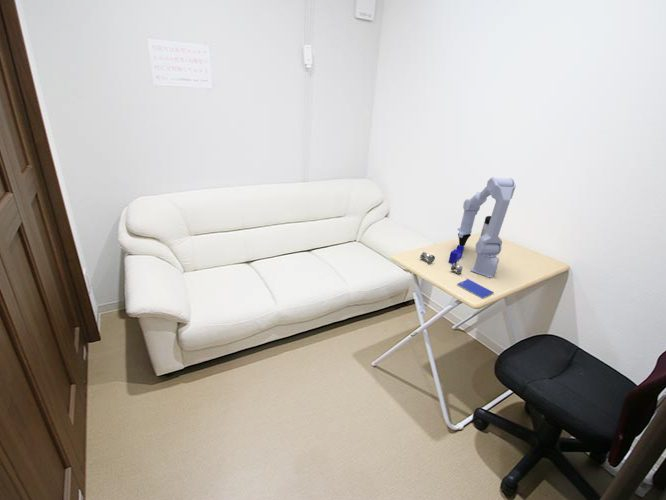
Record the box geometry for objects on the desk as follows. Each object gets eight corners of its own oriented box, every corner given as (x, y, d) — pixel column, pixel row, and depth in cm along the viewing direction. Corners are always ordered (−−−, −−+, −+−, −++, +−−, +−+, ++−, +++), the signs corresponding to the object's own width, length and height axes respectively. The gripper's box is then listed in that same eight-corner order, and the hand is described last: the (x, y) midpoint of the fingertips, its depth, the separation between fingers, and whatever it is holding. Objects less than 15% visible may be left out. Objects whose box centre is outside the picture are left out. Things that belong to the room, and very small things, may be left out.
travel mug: (489, 252, 187) (499, 217, 178) (487, 256, 182) (497, 220, 173) (477, 248, 190) (487, 214, 181) (475, 252, 184) (484, 217, 176)
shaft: (434, 261, 169) (435, 255, 167) (429, 263, 167) (430, 256, 165) (424, 256, 173) (426, 250, 172) (419, 258, 172) (421, 251, 170)
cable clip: (452, 254, 181) (455, 244, 178) (461, 257, 179) (464, 246, 176) (445, 262, 172) (447, 251, 169) (454, 265, 170) (456, 254, 167)
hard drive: (457, 283, 150) (482, 297, 142) (468, 278, 155) (494, 291, 146) (456, 286, 151) (482, 300, 142) (467, 281, 156) (493, 294, 147)
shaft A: (450, 270, 161) (451, 263, 160) (453, 268, 164) (454, 261, 162) (459, 273, 159) (460, 266, 158) (461, 271, 162) (463, 264, 160)
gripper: (464, 217, 187) (458, 240, 193) (455, 223, 176) (449, 247, 182) (477, 220, 183) (471, 244, 189) (468, 227, 172) (462, 252, 178)
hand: (461, 246), depth 185 cm, fingers closed
